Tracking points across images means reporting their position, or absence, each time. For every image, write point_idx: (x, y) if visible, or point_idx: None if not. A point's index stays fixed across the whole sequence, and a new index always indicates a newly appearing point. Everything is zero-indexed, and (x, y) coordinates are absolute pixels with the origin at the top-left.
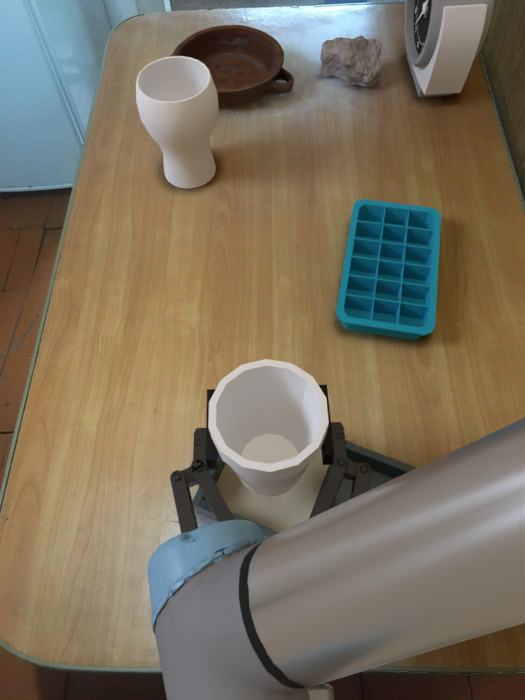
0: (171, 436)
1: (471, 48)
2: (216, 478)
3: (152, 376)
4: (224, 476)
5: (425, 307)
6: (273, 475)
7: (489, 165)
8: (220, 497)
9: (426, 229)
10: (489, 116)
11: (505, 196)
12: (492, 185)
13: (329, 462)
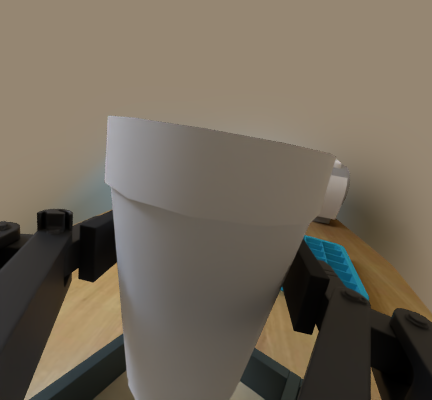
0: (80, 326)
1: (341, 195)
2: (94, 389)
3: (104, 275)
4: (108, 394)
5: (353, 285)
6: (206, 172)
7: (362, 246)
8: (41, 271)
9: (336, 250)
10: (352, 233)
11: (379, 259)
12: (368, 253)
13: (310, 321)
